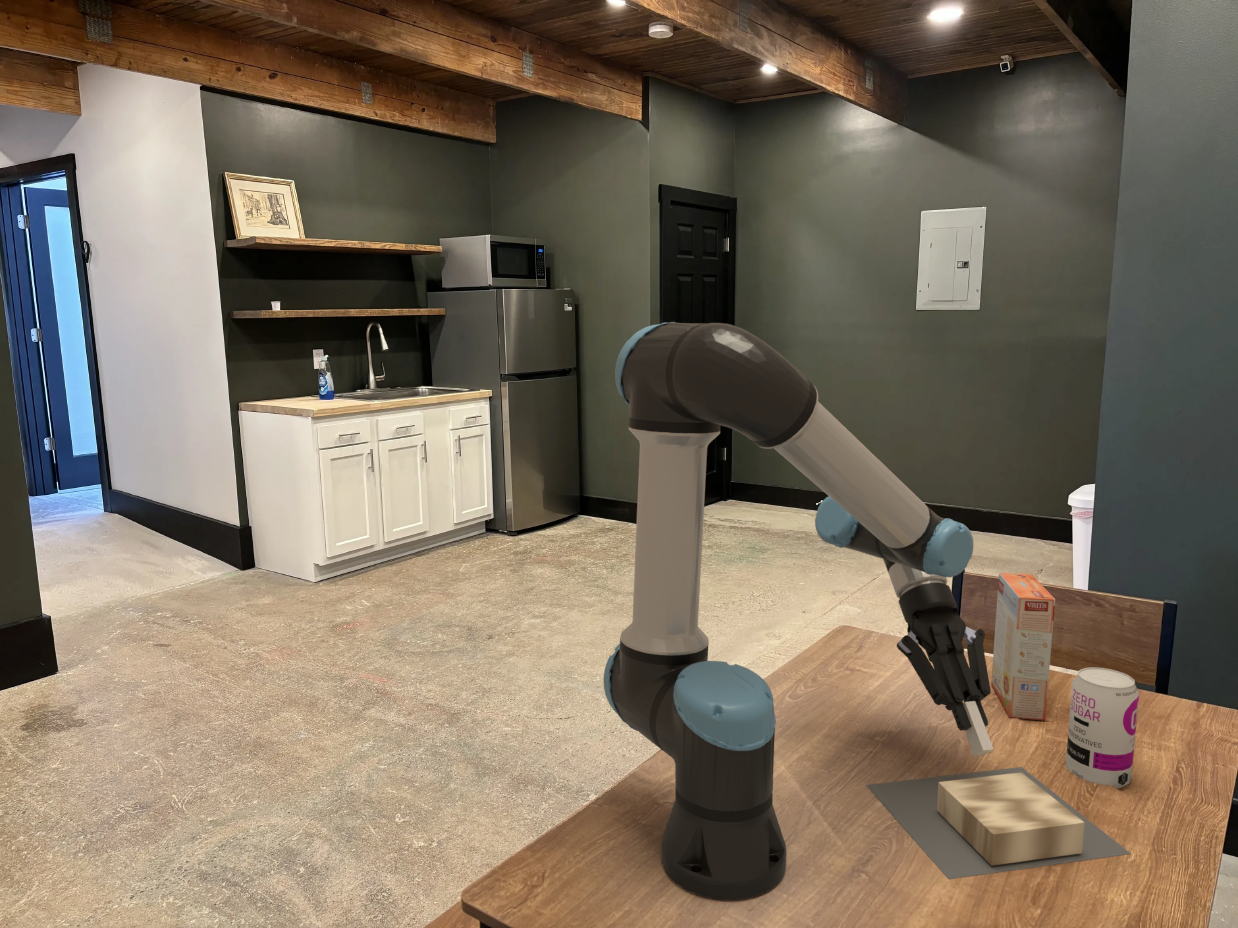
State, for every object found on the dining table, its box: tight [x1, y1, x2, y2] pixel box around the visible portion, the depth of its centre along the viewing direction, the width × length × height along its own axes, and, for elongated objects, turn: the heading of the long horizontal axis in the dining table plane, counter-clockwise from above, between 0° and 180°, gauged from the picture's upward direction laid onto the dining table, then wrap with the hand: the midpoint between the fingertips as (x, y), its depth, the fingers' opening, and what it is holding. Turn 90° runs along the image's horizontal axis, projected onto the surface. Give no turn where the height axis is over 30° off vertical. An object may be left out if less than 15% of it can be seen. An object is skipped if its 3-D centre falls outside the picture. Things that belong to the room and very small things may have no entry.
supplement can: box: [1065, 666, 1140, 790], centre depth 124 cm, size 8×8×15 cm
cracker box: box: [990, 572, 1056, 721], centre depth 147 cm, size 14×6×21 cm, turn 168°
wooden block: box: [937, 772, 1085, 866], centre depth 110 cm, size 12×4×12 cm
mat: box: [865, 766, 1132, 880], centre depth 114 cm, size 24×21×1 cm
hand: (983, 752), depth 115 cm, fingers closed
